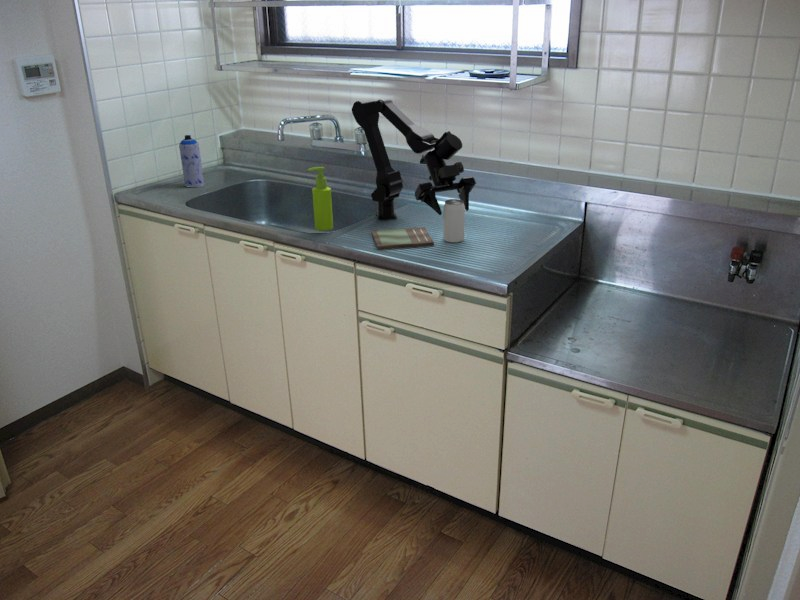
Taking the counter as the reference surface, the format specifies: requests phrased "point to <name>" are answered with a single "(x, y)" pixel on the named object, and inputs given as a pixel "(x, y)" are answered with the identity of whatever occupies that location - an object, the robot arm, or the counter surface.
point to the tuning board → (402, 238)
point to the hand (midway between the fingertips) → (454, 212)
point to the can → (454, 221)
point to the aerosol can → (191, 162)
